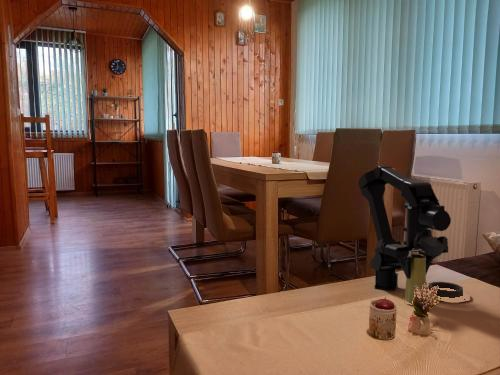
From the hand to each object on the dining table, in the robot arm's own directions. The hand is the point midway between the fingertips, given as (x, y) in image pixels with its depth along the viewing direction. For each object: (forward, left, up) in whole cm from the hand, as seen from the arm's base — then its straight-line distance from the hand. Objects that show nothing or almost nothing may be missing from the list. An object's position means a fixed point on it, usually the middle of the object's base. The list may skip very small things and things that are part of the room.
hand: (416, 277), depth 121 cm
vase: (0, 0, -8) cm, 8 cm away
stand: (+8, +11, -8) cm, 16 cm away
